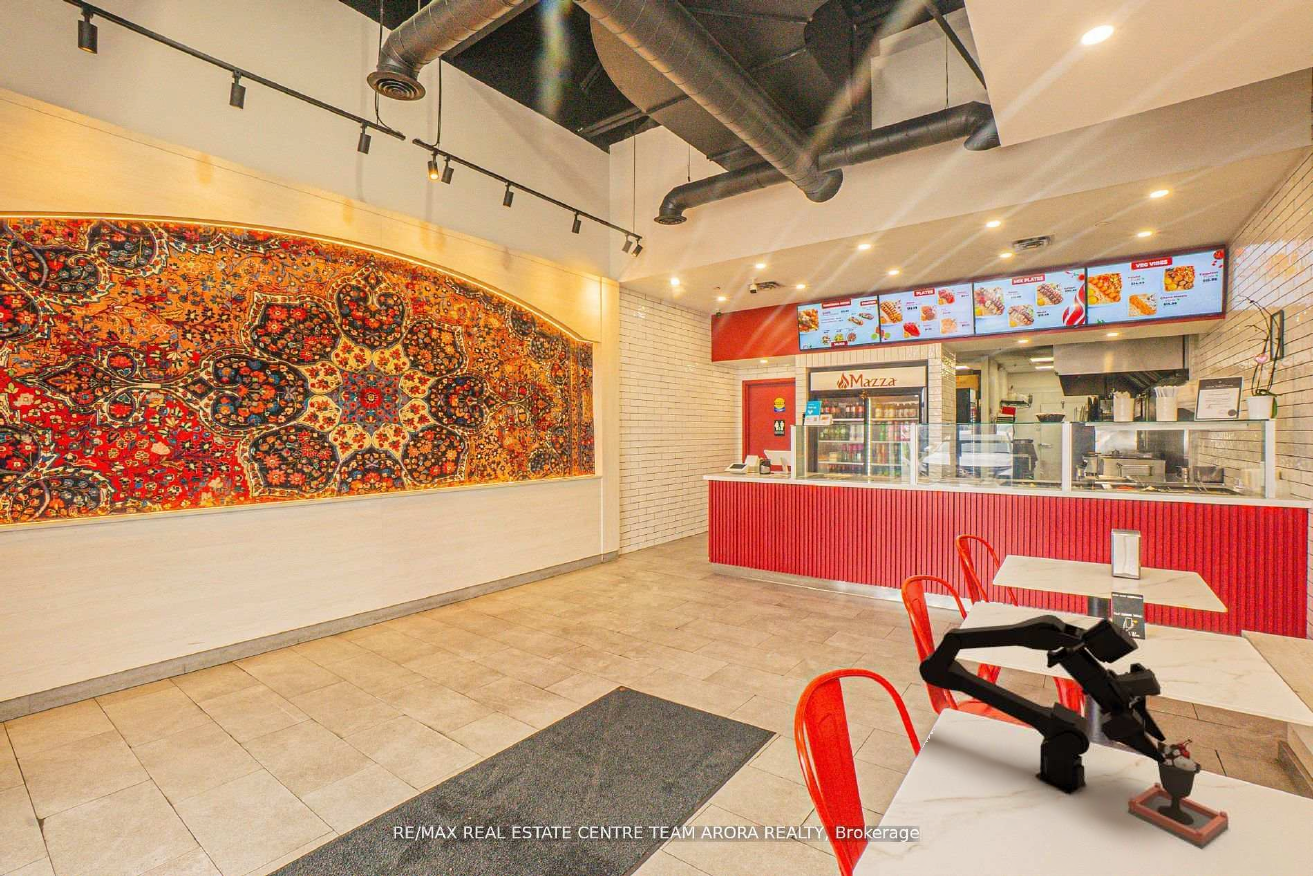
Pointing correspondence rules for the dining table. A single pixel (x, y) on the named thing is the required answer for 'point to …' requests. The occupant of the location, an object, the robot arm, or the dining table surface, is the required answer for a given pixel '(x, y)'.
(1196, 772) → the sundae
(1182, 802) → the baseplate
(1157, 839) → the dining table surface
